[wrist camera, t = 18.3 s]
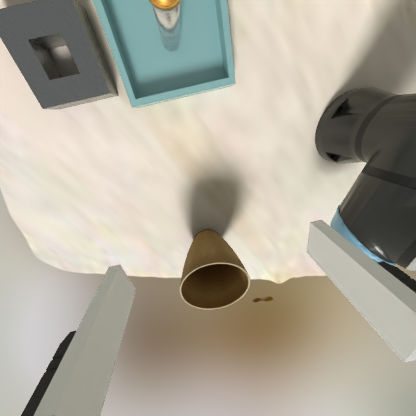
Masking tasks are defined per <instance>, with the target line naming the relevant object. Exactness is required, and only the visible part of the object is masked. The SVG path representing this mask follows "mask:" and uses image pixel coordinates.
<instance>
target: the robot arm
mask: <svg viewBox="0 0 416 416" xmlns="http://www.w3.org/2000/svg"><path fill="white" fill-rule="evenodd" d="M316 148H317V150H318V152H319V154H320V155H321V156H322V157H323V158H324V159H326V160H329V161H332V162H335V163H354V162H367V164H366V165H365V167H364V169H363V170H362V172H361V173H360V175H359V176H358V178H357V179H356V181H355V183H354V184H353V186H352V187H351V189H350V191H349V192H348V194H347V195H346V197H345V199H344V200H343V202H342V203H341V205H339V206H338V208H337V211H336V213H335V215H334V217H333V219H332V221H331V227H330V226H329V225H328V224H326V223H325V222H324V221H322V220H318V221H314V222H310V229H309V237H308V245H307V253H308V254H309V255H310V256H311V258H312V259H313V260H314V261H315V262H316V263H317V264H318V266H319V267H320V268H321V269H322V270H323V271H324V272H325V274H326V275H327V276H328V277H329V278H330V279H331V280H332V281H333V282H334V284H335V285H336V286H337V287H338V288H339V289H340V290H341V292H342V293H343V294H344V295H345V296H346V297H347V298H348V300H349V301H350V302H351V303H352V304H353V305H354V307H355V308H356V309H357V310H358V311H359V312H360V313H361V315H362V316H363V317H364V318H365V319H366V320H367V321H368V322H369V324H370V325H371V326H372V327H373V328H374V329H375V330H376V332H377V333H378V334H379V335H380V336H381V337H382V339H383V340H384V341H385V342H386V343H387V344H388V345H389V347H390V348H391V349H392V350H393V351H394V352H395V353H396V354H397V356H398V357H399V358H400V359H401V360H402V361H403V362H409V361H413V360H416V281H415V280H414V279H411V278H410V276H408V275H407V274H405V273H404V272H403V271H401V270H400V269H399V268H397V267H395V266H393V265H395V264H398V265H400V266H401V267H403V268H405V269H407V270H409V271H416V94H405V95H395V94H392V93H389V92H386V91H383V90H380V89H377V88H360V89H354V90H351V91H348V92H346V93H344V94H343V95H341V96H340V97H338V98H337V99H336V100H335V101H334V102H333V103H332V104H331V105H330V106H329V107H328V108H327V110H326V111H325V113H324V114H323V116H322V118H321V120H320V122H319V124H318V127H317V131H316ZM135 292H136V289H135V288H134V286H133V285H132V283H131V282H130V280H129V278H128V277H127V275H126V273H125V272H124V270H123V268H122V267H121V265H116V266H112V267H109V268H108V270H107V272H106V274H105V276H104V278H103V280H102V282H101V284H100V286H99V288H98V290H97V292H96V294H95V296H94V298H93V300H92V302H91V304H90V306H89V307H88V309H87V311H86V313H85V315H84V317H83V319H82V322H81V323H80V325H79V327H78V329H77V331H73V332H70V333H69V334H68V336H67V337H66V338H65V339H64V340H63V342H62V343H61V344H60V346H59V348H58V349H57V351H56V353H55V355H54V356H53V360H52V361H51V362H50V364H49V366H48V368H47V369H46V370H47V371H46V372H45V373H44V375H43V377H42V378H41V380H40V382H39V384H38V386H37V387H36V389H35V391H34V393H33V395H32V397H31V398H30V400H29V402H28V404H27V406H26V408H25V409H24V411H23V413H22V415H21V416H100V415H101V411H102V408H103V404H104V401H105V397H106V393H107V390H108V387H109V383H110V380H111V376H112V373H113V369H114V366H115V362H116V359H117V355H118V352H119V348H120V345H121V341H122V338H123V334H124V331H125V327H126V324H127V320H128V317H129V313H130V310H131V306H132V303H133V299H134V296H135Z"/></svg>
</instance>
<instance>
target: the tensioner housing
mask: <svg viewBox="0 0 416 416" xmlns="http://www.w3.org/2000/svg"><path fill="white" fill-rule="evenodd" d="M0 37H1V39H2V41H3V43H4V44H5V46H6V48H7V49H8V51H9V53H10V54H11V56H12V58H13V59H14V61H15V63H16V64H17V66H18V68H19V69H20V71H21V73H22V75H23V76H24V78H25V80H26V81H27V83H28V85H29V86H30V88H31V90H32V91H33V93H34V95H35V96H36V98H37V100H38V101H39V103H40V105H41V107H42V108H43V109H62V108H67V107H71V106H75V105H80V104H84V103H88V102H93V101H97V100H101V99H106V98H110V97H114V96H118V93H117V91H116V88H115V86H114V83H113V81H112V78H111V75H110V73H109V70H108V68H107V65H106V63H105V60H104V58H103V55H102V52H101V50H100V47H99V45H98V42H97V40H96V37H95V34H94V32H93V29H92V27H91V24H90V22H89V19H88V16H87V14H86V11H85V9H84V8H83V7H82V6H81V5H80V4H79V3H78V2H77V1H76V0H39V1H35V2H30V3H25V4H21V5H16V6H12V7H7V8H2V9H0ZM64 45H67V47H68V49H69V51H70V53H71V55H72V58H73V60H74V62H75V64H76V66H77V69H78V71H79V74H75V75H70V76H66V77H61V75H60V73H59V71H58V69H57V67H56V65H55V63H54V61H53V59H52V57H51V55H50V53H49V51H48V49H50V48H55V47H59V46H64Z"/></svg>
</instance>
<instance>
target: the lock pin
mask: <svg viewBox="0 0 416 416" xmlns="http://www.w3.org/2000/svg"><path fill="white" fill-rule="evenodd" d="M148 1H149V2H150V3H151V4H152V7H153V11H154V14H155V18H156V22H157V26H158V29H159V33H160V37H161V41H162V44H163V46H164V47H165V48H166V49H167V50H168V51H176V50H177V49H178V47H179V45H180V4H179V3H180V2H181V0H148Z"/></svg>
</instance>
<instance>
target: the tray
mask: <svg viewBox="0 0 416 416" xmlns="http://www.w3.org/2000/svg"><path fill="white" fill-rule="evenodd" d="M93 2H94V5H95V7H96V10H97V13H98V16H99V18H100V21H101V24H102V27H103V29H104V32H105V35H106V37H107V40H108V43H109V46H110V48H111V51H112V54H113V57H114V59H115V62H116V65H117V67H118V70H119V73H120V76H121V78H122V81H123V84H124V87H125V89H126V92H127V95H128V97H129V100H130V103H131V106H132V107H133V108H140V107H144V106H148V105H153V104H157V103H161V102H165V101H170V100H174V99H178V98H183V97H187V96H191V95H195V94H200V93H204V92H208V91H213V90H217V89H221V88H225V87H230V86H232V85H233V84H235V74H234V64H233V54H232V44H231V34H230V24H229V14H228V4H227V0H181V2H180V3H179V4H180V45H179V47H178V49H177V50H176V51H168V50H167V49H166V48H165V47H164V46H163V44H162V41H161V37H160V33H159V29H158V26H157V22H156V18H155V14H154V11H153V7H152V4H151V3H150V2H149V1H148V0H93Z"/></svg>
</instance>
